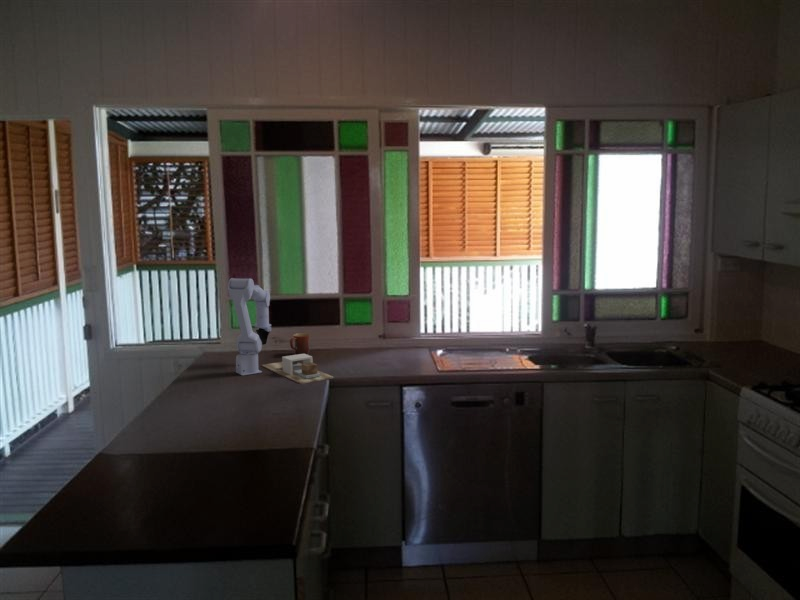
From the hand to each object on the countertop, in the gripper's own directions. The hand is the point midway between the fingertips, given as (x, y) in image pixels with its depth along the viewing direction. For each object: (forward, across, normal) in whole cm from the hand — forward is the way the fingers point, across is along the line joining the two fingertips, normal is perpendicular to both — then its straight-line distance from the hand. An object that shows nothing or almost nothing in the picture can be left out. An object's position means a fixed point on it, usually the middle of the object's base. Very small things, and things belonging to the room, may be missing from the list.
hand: (263, 344), depth 298 cm
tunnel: (+9, -25, -5) cm, 27 cm away
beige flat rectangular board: (+9, -23, -5) cm, 25 cm away
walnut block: (+7, -36, -5) cm, 37 cm away
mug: (+10, +6, -22) cm, 25 cm away
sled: (+8, -28, -5) cm, 30 cm away
